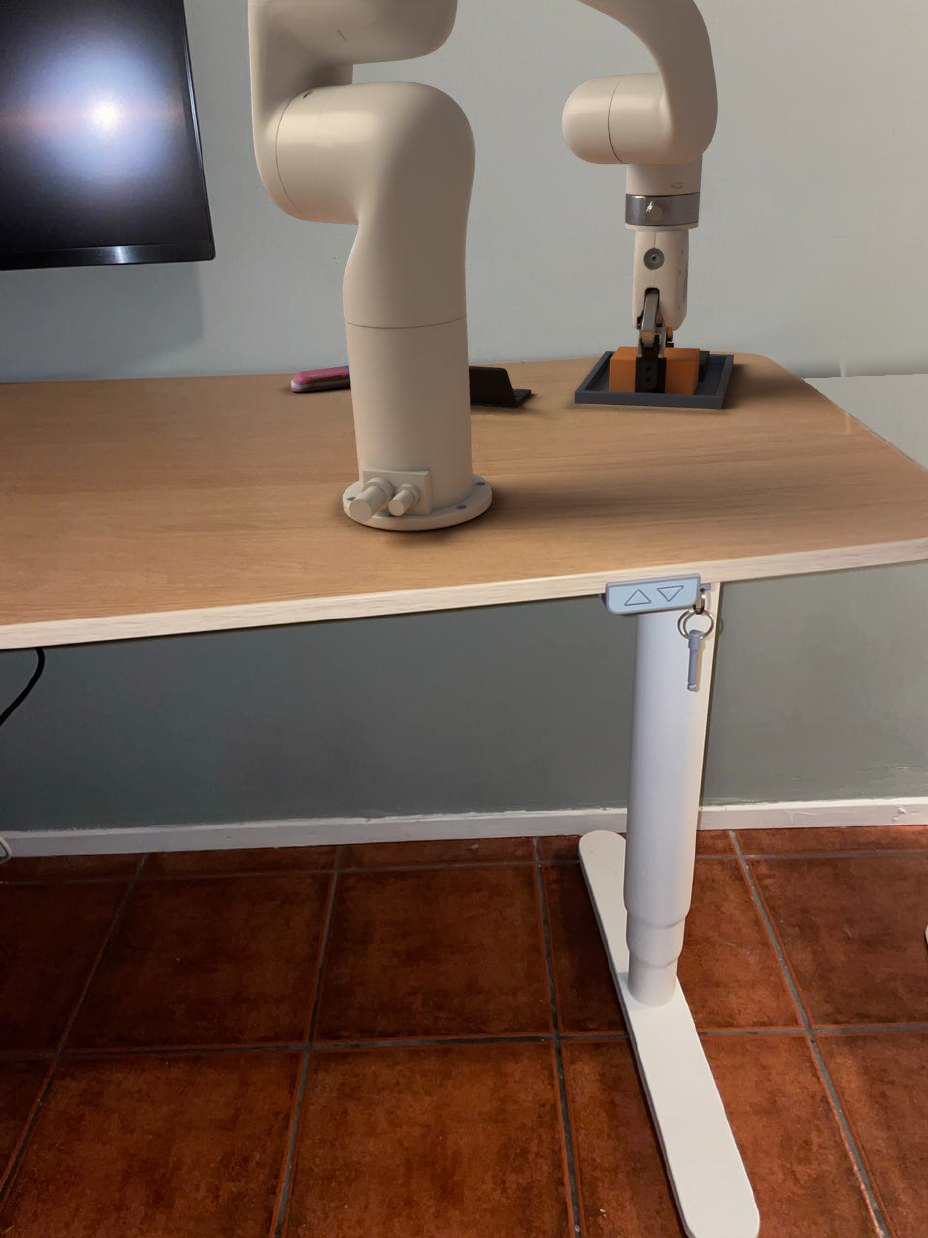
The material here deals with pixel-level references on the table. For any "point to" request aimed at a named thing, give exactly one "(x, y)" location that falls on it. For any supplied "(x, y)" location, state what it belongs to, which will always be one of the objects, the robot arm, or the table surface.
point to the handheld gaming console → (494, 388)
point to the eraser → (321, 379)
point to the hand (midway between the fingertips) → (653, 384)
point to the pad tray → (704, 396)
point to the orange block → (678, 370)
